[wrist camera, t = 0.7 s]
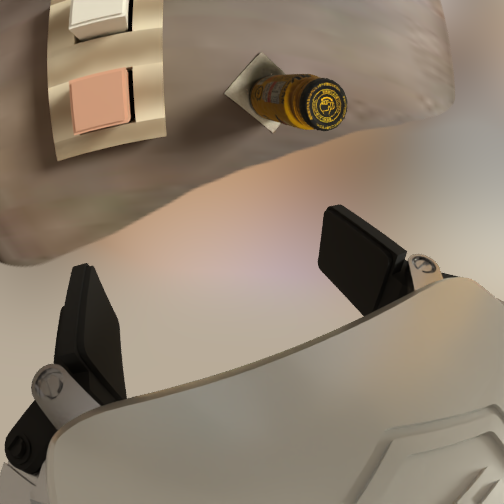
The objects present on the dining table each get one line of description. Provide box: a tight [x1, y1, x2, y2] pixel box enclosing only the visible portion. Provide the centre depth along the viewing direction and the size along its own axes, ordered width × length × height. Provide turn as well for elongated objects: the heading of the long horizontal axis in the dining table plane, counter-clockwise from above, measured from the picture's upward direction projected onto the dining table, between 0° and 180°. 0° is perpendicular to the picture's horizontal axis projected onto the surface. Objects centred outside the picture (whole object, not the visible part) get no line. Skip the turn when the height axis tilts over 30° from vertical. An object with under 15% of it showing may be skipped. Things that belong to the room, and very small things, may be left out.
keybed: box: [47, 0, 166, 161], centre depth 19 cm, size 20×12×4 cm, turn 0°
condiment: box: [224, 52, 347, 133], centre depth 26 cm, size 7×8×12 cm
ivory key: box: [69, 0, 129, 42], centre depth 14 cm, size 5×5×6 cm
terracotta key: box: [69, 67, 131, 135], centre depth 19 cm, size 5×5×6 cm
